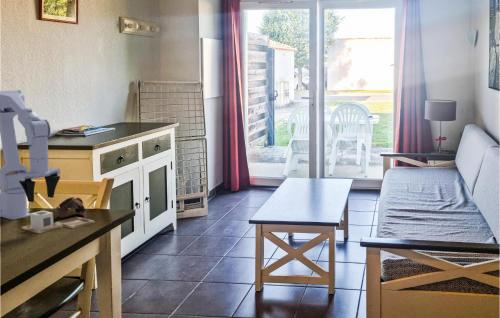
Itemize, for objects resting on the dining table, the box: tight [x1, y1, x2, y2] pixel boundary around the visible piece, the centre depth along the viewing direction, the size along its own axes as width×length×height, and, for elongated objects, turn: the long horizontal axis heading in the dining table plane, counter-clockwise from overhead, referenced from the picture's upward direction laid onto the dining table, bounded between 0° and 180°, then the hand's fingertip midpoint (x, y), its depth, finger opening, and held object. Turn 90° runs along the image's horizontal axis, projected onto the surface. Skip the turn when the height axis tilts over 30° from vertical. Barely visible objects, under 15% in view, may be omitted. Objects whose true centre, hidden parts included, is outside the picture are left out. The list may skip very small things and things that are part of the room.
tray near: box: [21, 222, 63, 234], centre depth 205 cm, size 9×9×1 cm
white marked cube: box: [29, 210, 54, 231], centre depth 204 cm, size 5×5×5 cm
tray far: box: [54, 216, 95, 230], centre depth 211 cm, size 9×9×1 cm
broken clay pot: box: [55, 196, 88, 219], centre depth 220 cm, size 12×10×8 cm
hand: (40, 199), depth 203 cm, fingers open, 7 cm apart
